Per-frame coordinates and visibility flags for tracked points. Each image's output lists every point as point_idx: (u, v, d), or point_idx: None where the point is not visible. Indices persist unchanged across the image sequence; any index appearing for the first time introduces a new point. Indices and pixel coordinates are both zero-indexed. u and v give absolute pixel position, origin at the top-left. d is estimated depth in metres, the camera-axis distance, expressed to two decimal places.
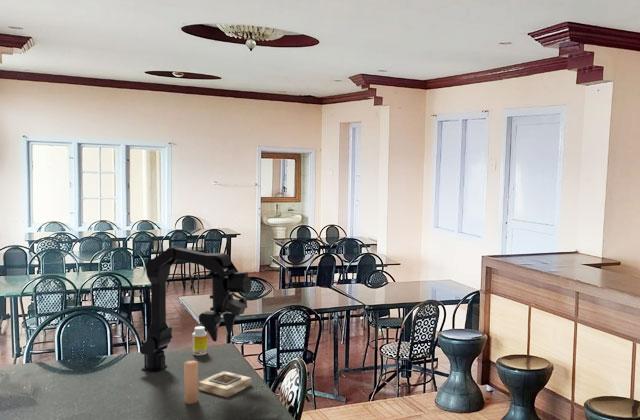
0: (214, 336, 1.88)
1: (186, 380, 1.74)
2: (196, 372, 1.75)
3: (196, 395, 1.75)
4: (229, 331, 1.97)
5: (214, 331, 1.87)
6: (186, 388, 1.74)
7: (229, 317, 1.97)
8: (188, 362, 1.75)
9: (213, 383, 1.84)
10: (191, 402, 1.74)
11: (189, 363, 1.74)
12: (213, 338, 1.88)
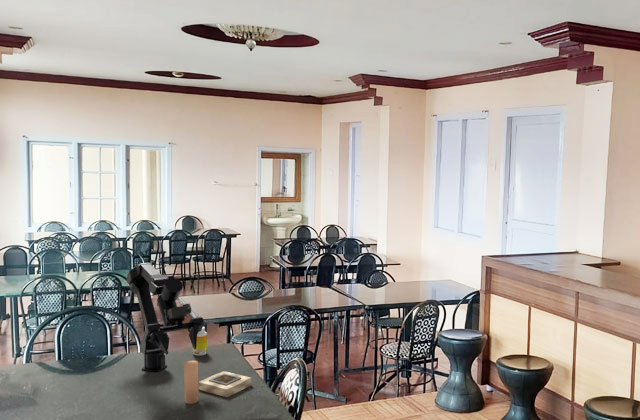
0: (163, 348, 1.79)
1: (186, 380, 1.74)
2: (196, 372, 1.75)
3: (196, 395, 1.75)
4: (194, 346, 1.84)
5: (161, 343, 1.80)
6: (186, 388, 1.74)
7: (191, 333, 1.87)
8: (189, 362, 1.75)
9: (213, 383, 1.84)
10: (191, 402, 1.74)
11: (189, 363, 1.74)
12: (164, 351, 1.79)
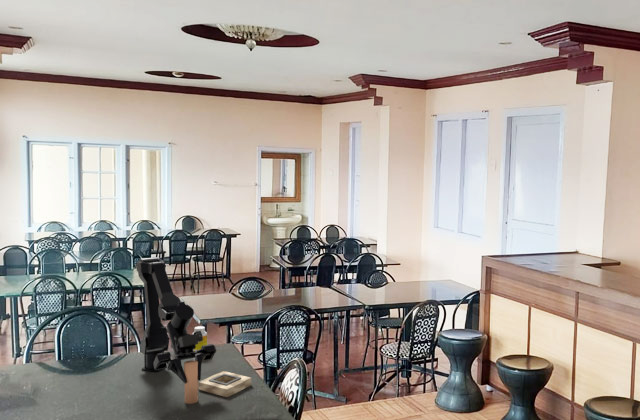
0: (182, 377, 1.73)
1: None
2: (196, 372, 1.75)
3: (196, 395, 1.75)
4: (198, 377, 1.76)
5: (179, 371, 1.74)
6: (186, 388, 1.74)
7: None
8: (188, 362, 1.75)
9: (213, 383, 1.84)
10: (191, 402, 1.74)
11: (189, 363, 1.74)
12: (183, 380, 1.74)
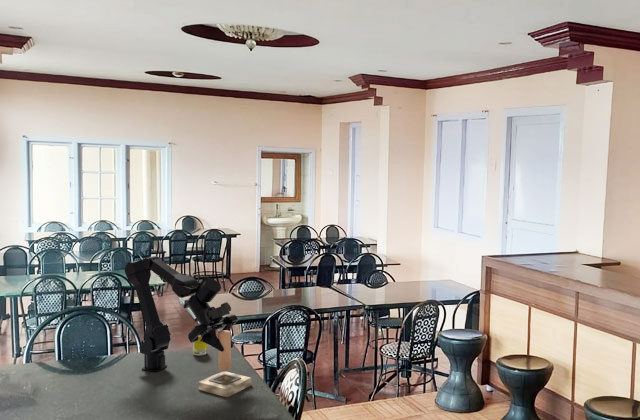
0: (219, 346, 1.83)
1: None
2: (230, 340, 1.86)
3: (230, 362, 1.86)
4: None
5: (215, 341, 1.83)
6: (222, 356, 1.84)
7: None
8: (222, 332, 1.85)
9: (213, 383, 1.84)
10: (227, 368, 1.85)
11: (224, 332, 1.85)
12: (219, 348, 1.83)
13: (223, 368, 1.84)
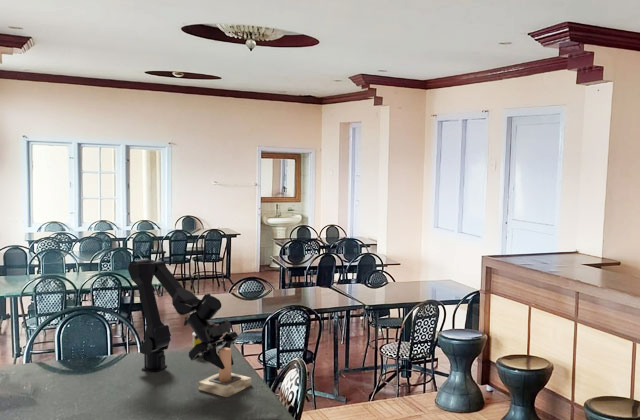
0: (219, 363, 1.84)
1: None
2: (230, 357, 1.87)
3: None
4: None
5: (216, 359, 1.84)
6: (223, 374, 1.85)
7: None
8: (222, 349, 1.86)
9: (213, 383, 1.84)
10: None
11: (224, 350, 1.85)
12: (220, 366, 1.84)
13: None
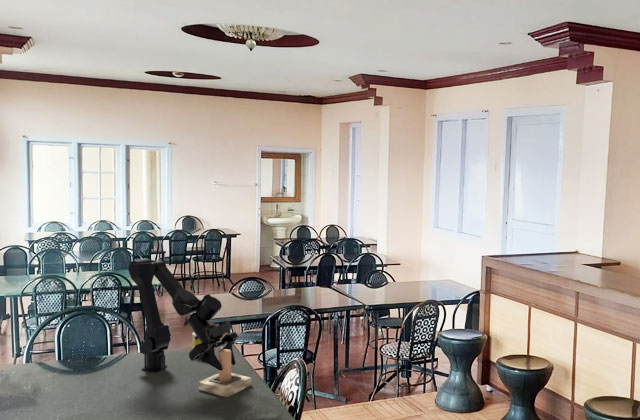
0: (217, 365, 1.83)
1: (223, 368, 1.85)
2: None
3: None
4: (232, 362, 1.89)
5: (214, 360, 1.83)
6: (223, 375, 1.85)
7: None
8: (222, 351, 1.86)
9: (213, 383, 1.84)
10: None
11: (224, 351, 1.86)
12: (218, 368, 1.83)
13: None
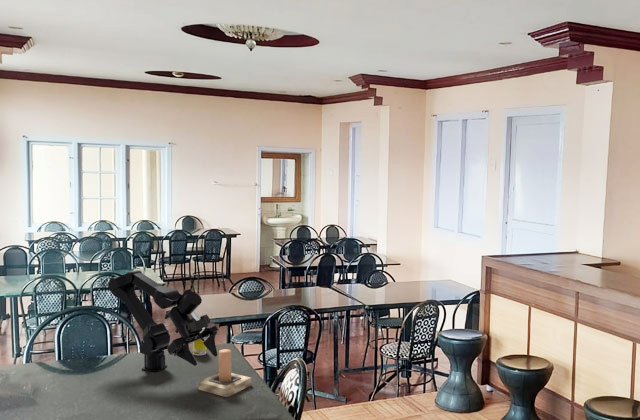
0: (192, 360, 1.87)
1: (223, 368, 1.85)
2: None
3: None
4: (214, 353, 1.95)
5: (188, 355, 1.87)
6: (223, 375, 1.85)
7: (208, 342, 1.97)
8: (222, 351, 1.86)
9: (213, 383, 1.84)
10: None
11: (224, 351, 1.86)
12: (193, 363, 1.87)
13: None
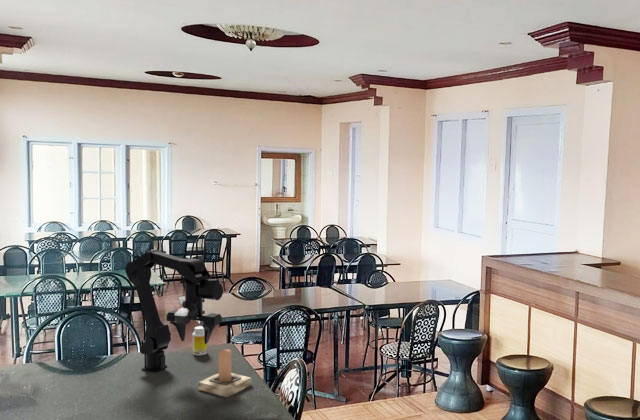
0: None
1: (223, 368, 1.85)
2: None
3: None
4: None
5: None
6: (223, 375, 1.85)
7: None
8: (222, 351, 1.86)
9: (213, 383, 1.84)
10: None
11: (224, 352, 1.85)
12: None
13: None
